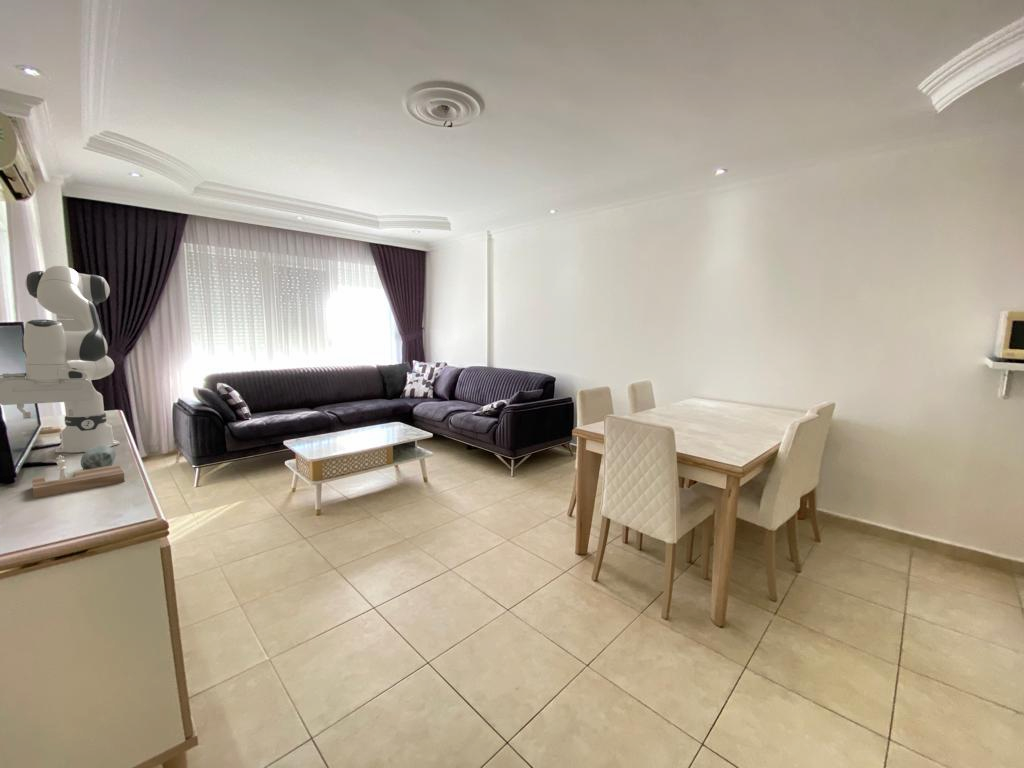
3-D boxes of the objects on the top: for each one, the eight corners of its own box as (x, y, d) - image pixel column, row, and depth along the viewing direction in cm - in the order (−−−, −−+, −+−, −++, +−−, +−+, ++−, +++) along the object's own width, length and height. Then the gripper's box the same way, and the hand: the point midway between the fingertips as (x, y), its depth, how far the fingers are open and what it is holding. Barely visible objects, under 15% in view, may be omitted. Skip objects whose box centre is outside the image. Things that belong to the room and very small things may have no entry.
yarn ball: (119, 463, 148) (100, 439, 146) (86, 480, 142) (66, 455, 140) (127, 462, 159) (110, 440, 157) (97, 477, 154) (78, 455, 152)
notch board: (33, 487, 132) (32, 478, 132) (119, 472, 147) (118, 464, 147) (33, 498, 124) (32, 488, 124) (124, 481, 140) (123, 472, 139)
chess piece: (77, 484, 136) (74, 454, 134) (56, 489, 132) (52, 458, 130) (71, 481, 138) (67, 452, 137) (49, 486, 134) (45, 455, 132)
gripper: (-7, 374, 120) (-3, 422, 121) (94, 373, 135) (96, 415, 137) (-6, 372, 124) (-2, 418, 125) (92, 371, 139) (94, 411, 141)
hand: (50, 416), depth 131 cm, fingers open, 8 cm apart
